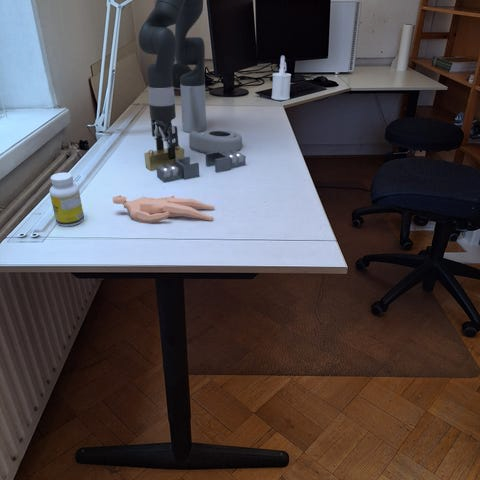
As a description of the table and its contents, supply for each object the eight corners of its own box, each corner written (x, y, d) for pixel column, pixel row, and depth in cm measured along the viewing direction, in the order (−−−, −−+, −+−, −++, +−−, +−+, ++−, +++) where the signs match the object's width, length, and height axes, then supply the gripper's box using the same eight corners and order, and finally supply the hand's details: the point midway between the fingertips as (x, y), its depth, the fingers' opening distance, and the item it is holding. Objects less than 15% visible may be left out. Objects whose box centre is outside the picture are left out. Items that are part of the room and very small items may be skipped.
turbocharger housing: (250, 151, 157) (221, 142, 166) (252, 133, 154) (222, 124, 163) (215, 159, 146) (186, 148, 155) (216, 140, 143) (186, 130, 152)
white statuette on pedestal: (272, 95, 229) (274, 54, 219) (290, 96, 228) (292, 54, 218) (270, 100, 220) (272, 57, 210) (289, 101, 219) (292, 57, 209)
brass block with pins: (145, 168, 138) (144, 150, 135) (179, 160, 144) (178, 143, 142) (150, 171, 136) (149, 153, 133) (184, 164, 142) (184, 146, 139)
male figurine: (213, 213, 105) (106, 203, 104) (211, 231, 107) (107, 222, 106) (215, 194, 114) (118, 185, 113) (214, 211, 116) (118, 203, 115)
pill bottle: (60, 215, 110) (50, 171, 104) (87, 214, 110) (79, 170, 104) (53, 227, 104) (42, 181, 98) (81, 227, 105) (72, 181, 99)
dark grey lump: (169, 91, 236) (167, 61, 229) (193, 90, 237) (192, 61, 230) (168, 96, 225) (166, 65, 217) (194, 96, 226) (193, 65, 219)
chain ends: (155, 175, 133) (154, 163, 131) (235, 159, 146) (235, 147, 144) (165, 183, 127) (164, 170, 125) (247, 166, 140) (247, 154, 138)
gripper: (184, 105, 127) (187, 159, 135) (163, 96, 137) (167, 147, 145) (160, 108, 123) (164, 164, 131) (140, 99, 133) (145, 151, 141)
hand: (166, 155), depth 138 cm, fingers open, 8 cm apart
